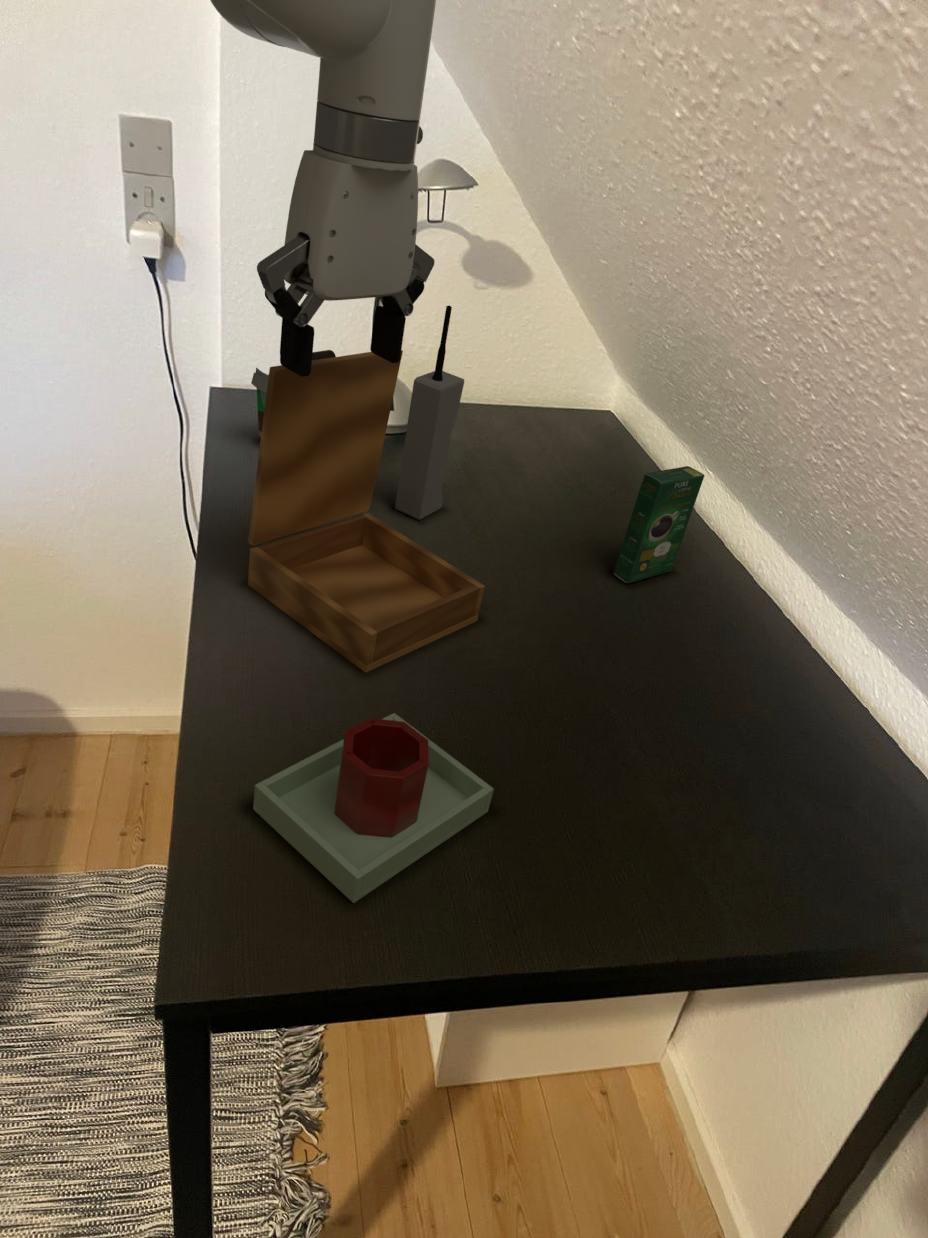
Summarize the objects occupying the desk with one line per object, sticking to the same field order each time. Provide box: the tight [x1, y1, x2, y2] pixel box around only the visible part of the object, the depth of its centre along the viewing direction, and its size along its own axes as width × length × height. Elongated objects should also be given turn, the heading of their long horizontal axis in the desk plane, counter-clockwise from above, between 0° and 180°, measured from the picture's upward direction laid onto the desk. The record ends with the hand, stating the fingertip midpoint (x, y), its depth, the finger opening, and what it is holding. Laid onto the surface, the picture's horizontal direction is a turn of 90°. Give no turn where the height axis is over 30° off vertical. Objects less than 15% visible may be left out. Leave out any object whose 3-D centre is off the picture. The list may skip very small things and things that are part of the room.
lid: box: [247, 349, 404, 547], centre depth 93 cm, size 18×16×5 cm
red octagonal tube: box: [335, 717, 429, 837], centre depth 70 cm, size 6×6×6 cm
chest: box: [247, 512, 486, 674], centre depth 95 cm, size 18×16×4 cm
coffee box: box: [612, 465, 705, 584], centre depth 109 cm, size 8×3×13 cm, turn 127°
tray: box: [252, 712, 495, 904], centre depth 71 cm, size 14×11×2 cm
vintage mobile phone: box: [394, 305, 465, 521], centre depth 109 cm, size 4×5×25 cm
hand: (341, 363), depth 79 cm, fingers open, 9 cm apart
